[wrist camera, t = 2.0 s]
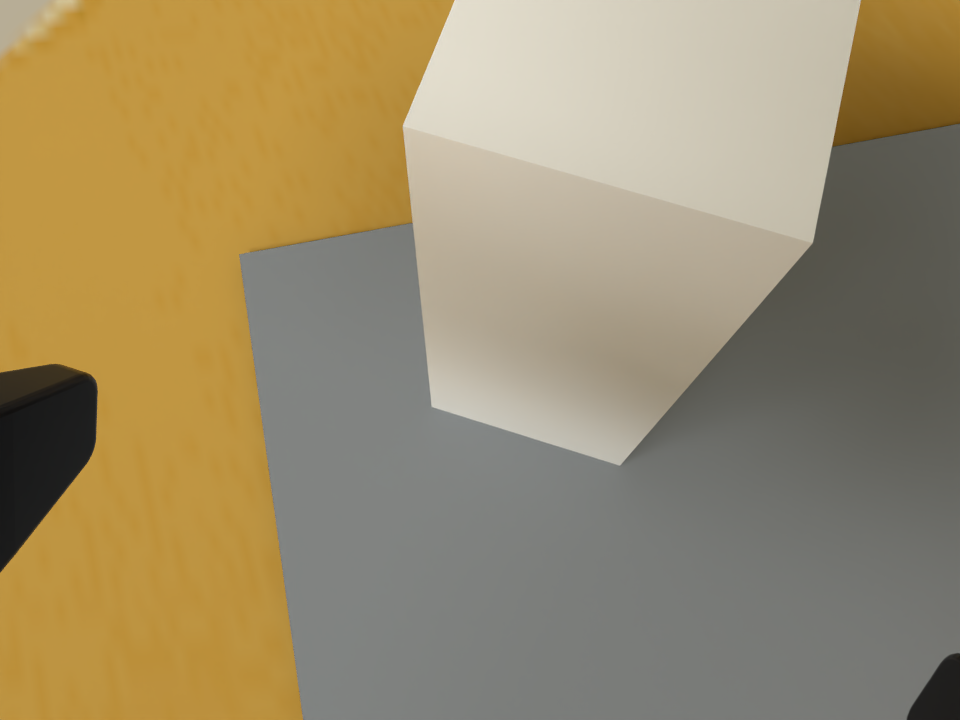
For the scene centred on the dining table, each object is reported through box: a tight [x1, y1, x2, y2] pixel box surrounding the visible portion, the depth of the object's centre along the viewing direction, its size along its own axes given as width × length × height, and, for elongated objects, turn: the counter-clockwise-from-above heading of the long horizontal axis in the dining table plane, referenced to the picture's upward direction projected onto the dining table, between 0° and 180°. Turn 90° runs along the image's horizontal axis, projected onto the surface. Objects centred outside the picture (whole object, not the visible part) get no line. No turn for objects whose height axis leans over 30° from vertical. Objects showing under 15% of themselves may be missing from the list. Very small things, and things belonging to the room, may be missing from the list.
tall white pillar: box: [403, 0, 861, 466], centre depth 17 cm, size 5×5×12 cm
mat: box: [239, 124, 960, 720], centre depth 21 cm, size 24×24×1 cm
